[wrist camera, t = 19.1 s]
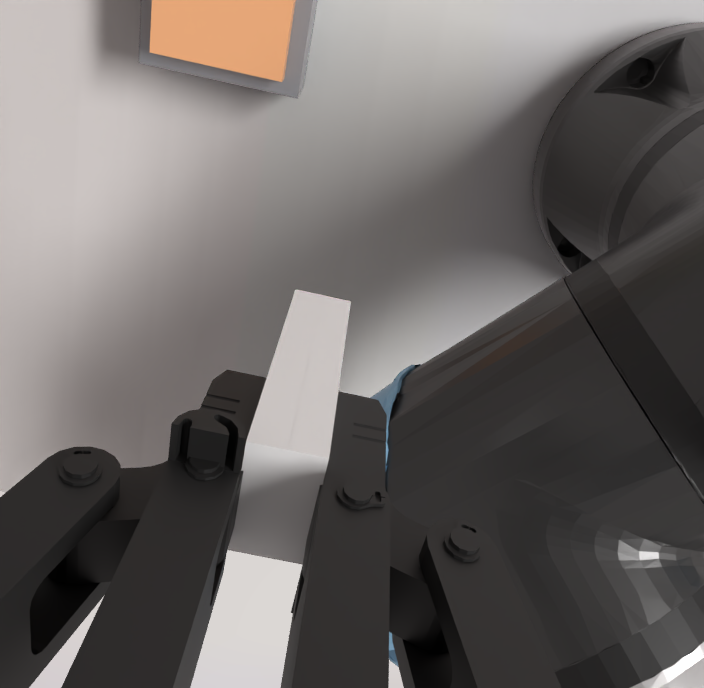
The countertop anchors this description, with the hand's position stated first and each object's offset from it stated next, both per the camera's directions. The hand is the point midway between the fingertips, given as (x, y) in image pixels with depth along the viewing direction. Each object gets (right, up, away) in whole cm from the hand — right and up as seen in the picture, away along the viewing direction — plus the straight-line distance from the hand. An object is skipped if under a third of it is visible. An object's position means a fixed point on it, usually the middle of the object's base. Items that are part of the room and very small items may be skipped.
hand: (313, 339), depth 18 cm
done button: (-5, +18, +15) cm, 24 cm away
